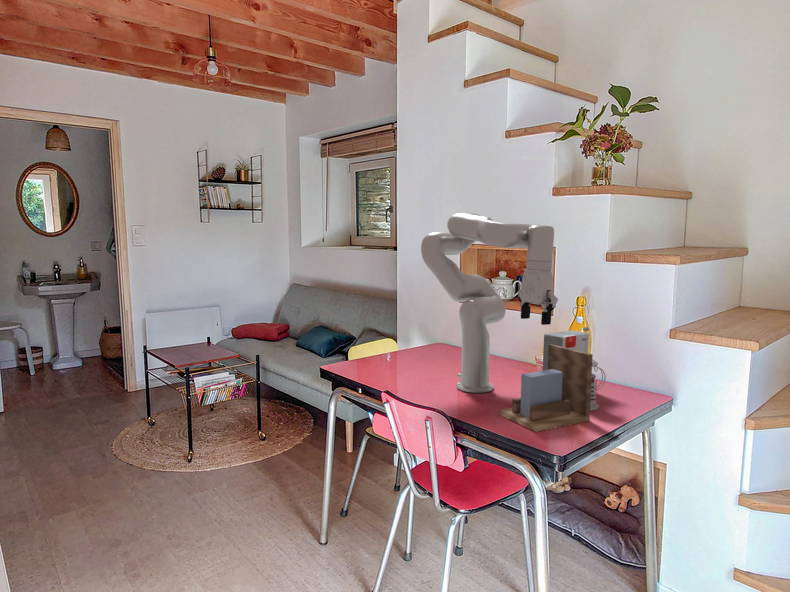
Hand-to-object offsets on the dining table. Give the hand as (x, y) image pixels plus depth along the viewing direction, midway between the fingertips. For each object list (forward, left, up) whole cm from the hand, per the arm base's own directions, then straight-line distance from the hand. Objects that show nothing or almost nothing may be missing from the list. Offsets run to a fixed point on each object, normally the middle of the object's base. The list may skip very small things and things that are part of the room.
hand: (535, 321), depth 165 cm
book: (+11, -6, -25) cm, 28 cm away
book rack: (+11, -5, -27) cm, 29 cm away
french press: (+8, +15, -27) cm, 32 cm away
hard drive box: (-7, +21, -27) cm, 35 cm away
